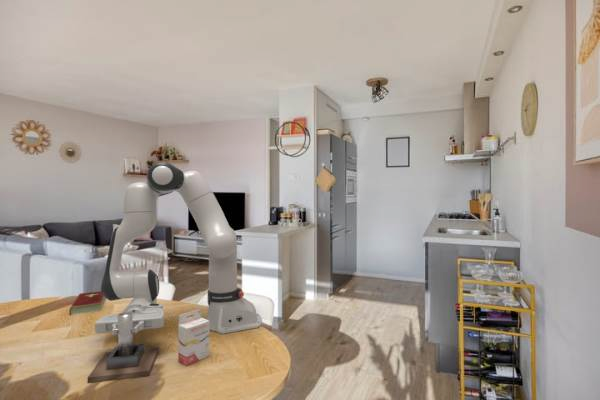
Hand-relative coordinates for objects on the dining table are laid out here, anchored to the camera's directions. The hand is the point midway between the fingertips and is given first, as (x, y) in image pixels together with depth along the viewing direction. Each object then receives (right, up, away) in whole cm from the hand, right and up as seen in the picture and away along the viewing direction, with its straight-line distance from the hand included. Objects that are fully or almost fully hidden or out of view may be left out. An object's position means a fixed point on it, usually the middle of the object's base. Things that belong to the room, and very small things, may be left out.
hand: (124, 331), depth 102 cm
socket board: (0, -11, +1) cm, 11 cm away
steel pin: (0, -8, +1) cm, 8 cm away
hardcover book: (-45, -10, +55) cm, 72 cm away
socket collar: (0, -9, +1) cm, 10 cm away
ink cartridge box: (+19, -11, +6) cm, 23 cm away
